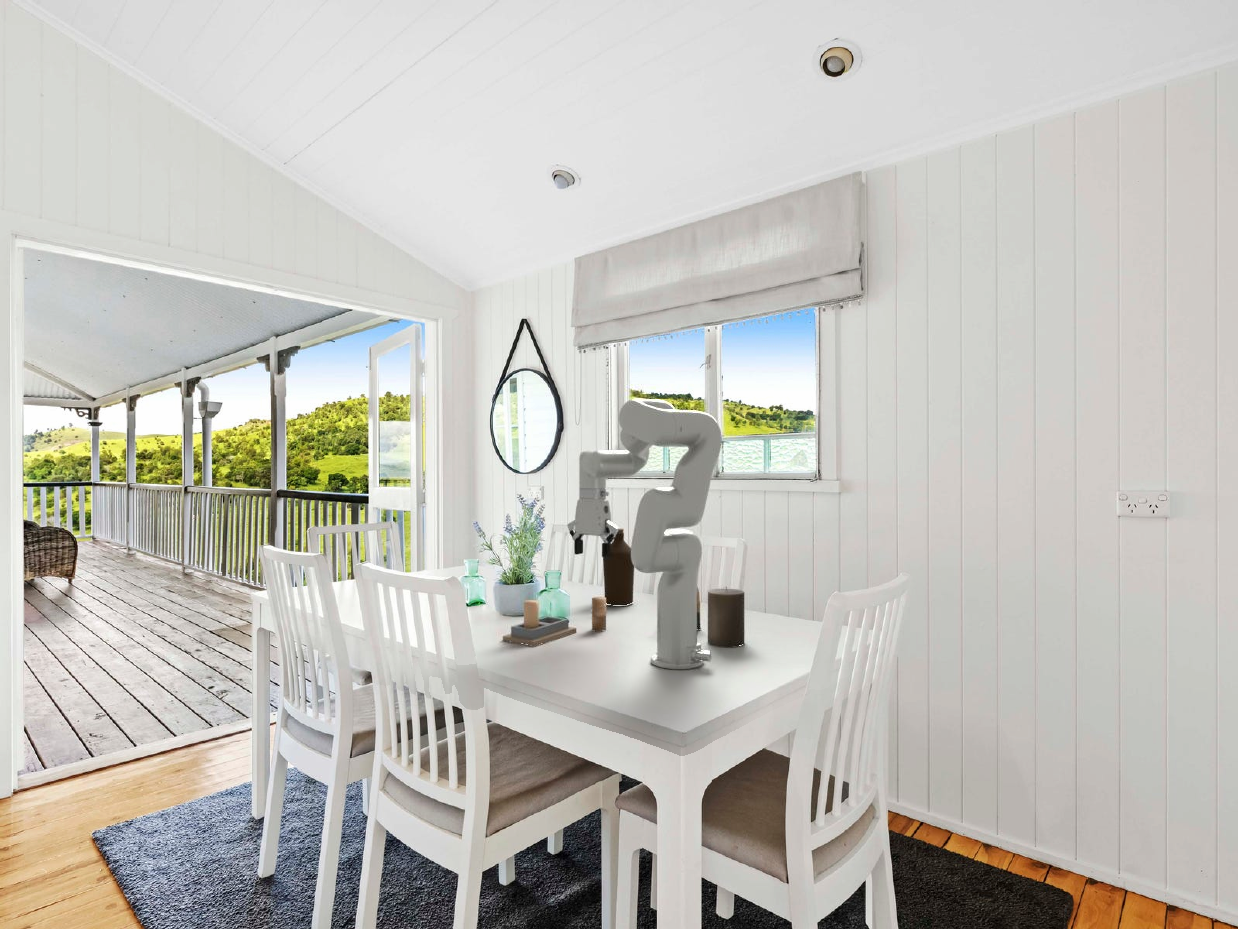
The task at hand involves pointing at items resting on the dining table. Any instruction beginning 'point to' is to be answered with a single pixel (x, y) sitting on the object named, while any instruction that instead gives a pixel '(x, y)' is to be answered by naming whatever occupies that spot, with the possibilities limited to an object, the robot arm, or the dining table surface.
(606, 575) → the olive oil
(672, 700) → the dining table surface
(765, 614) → the dining table surface
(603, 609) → the switch lever
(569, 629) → the housing
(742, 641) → the pillar candle
